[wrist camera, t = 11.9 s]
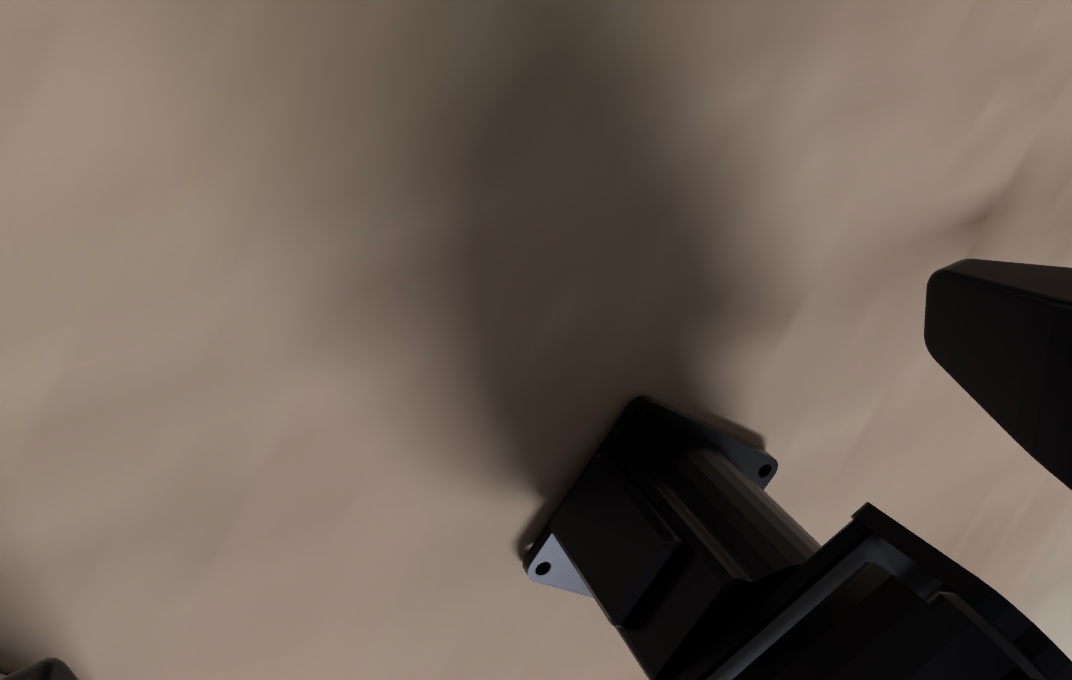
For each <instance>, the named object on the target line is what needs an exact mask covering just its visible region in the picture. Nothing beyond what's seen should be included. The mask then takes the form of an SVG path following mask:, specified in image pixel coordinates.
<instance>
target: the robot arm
mask: <svg viewBox="0 0 1072 680" xmlns="http://www.w3.org/2000/svg"><path fill="white" fill-rule="evenodd" d="M924 340H925V344H926V347H927V349H928V351H929V353H930V354H931V356H932V357H933V358H934V359H935V361H936V362H937V363H938V364H939V365H940V366H941V367H942V368H943V369H944V370H945V371H946V372H947V373H948V374H949V375H950V376H951V377H952V378H953V379H954V380H955V381H956V382H957V383H958V384H959V385H960V386H961V387H962V388H963V389H964V390H965V391H966V392H967V393H968V394H969V395H970V396H971V397H972V398H973V399H974V400H975V401H976V402H977V403H978V404H979V405H980V406H981V407H982V408H983V409H984V410H985V411H986V412H987V413H988V414H989V415H990V416H991V417H992V418H993V419H994V420H995V421H996V422H997V423H998V424H999V425H1000V426H1001V427H1002V428H1003V429H1004V430H1005V431H1006V432H1007V433H1008V434H1009V435H1010V436H1011V437H1012V438H1013V439H1014V440H1015V441H1016V442H1017V443H1018V444H1019V445H1020V446H1021V447H1022V448H1024V449H1025V450H1026V451H1027V452H1028V453H1029V454H1030V455H1031V456H1032V457H1033V458H1034V459H1035V460H1037V461H1038V462H1039V463H1040V464H1041V465H1042V466H1043V467H1045V468H1046V469H1047V470H1048V471H1049V472H1050V473H1052V474H1053V475H1054V476H1055V477H1056V478H1058V479H1059V480H1060V481H1061V482H1062V483H1064V484H1065V485H1066V486H1067V487H1068V488H1070V489H1071V490H1072V268H1068V267H1057V266H1046V265H1035V264H1024V263H1013V262H1002V261H991V260H980V259H964V260H960V261H957V262H955V263H953V264H951V265H948V266H946V267H944V268H941V269H939V270H937V271H935V272H934V273H933V274H932V275H931V277H930V278H929V280H928V283H927V290H926V307H925V324H924ZM644 411H647V412H646V414H645V415H644V416H643V417H641V418H639V417H640V415H641V414H642V413H643V412H644ZM777 468H778V463H777V461H776V460H775V459H774V458H773V457H772V456H771V455H770V454H769V453H767V452H766V451H764V450H762V449H760V448H758V447H756V446H753V445H751V444H749V443H747V442H745V441H743V440H741V439H739V438H736V437H734V436H732V435H730V434H728V433H726V432H724V431H722V430H719V429H717V428H715V427H713V426H711V425H709V424H707V423H704V422H702V421H700V420H698V419H696V418H694V417H692V416H690V415H687V414H685V413H683V412H681V411H679V410H677V409H675V408H673V407H670V406H668V405H666V404H664V403H662V402H660V401H658V400H656V399H653V398H651V397H649V396H640V397H637V398H635V399H633V400H632V401H631V402H630V403H629V404H628V405H627V407H626V408H625V410H624V411H623V413H622V414H621V416H620V417H619V419H618V420H617V422H616V423H615V425H614V426H613V427H612V429H611V430H610V432H609V433H608V435H607V436H606V438H605V439H604V441H603V442H602V444H601V445H600V447H599V448H598V450H597V451H596V453H595V454H594V455H593V457H592V458H591V460H590V461H589V463H588V464H587V466H586V467H585V469H584V470H583V472H582V473H581V475H580V476H579V478H578V479H577V481H576V482H575V483H574V485H573V486H572V488H571V489H570V491H569V492H568V494H567V495H566V497H565V498H564V500H563V501H562V503H561V504H560V506H559V507H558V509H557V510H556V512H555V513H554V514H553V516H552V517H551V519H550V520H549V522H548V523H547V525H546V526H545V528H544V529H543V531H542V532H541V534H540V535H539V537H538V538H537V540H536V541H535V542H534V544H533V545H532V547H531V548H530V550H529V551H528V553H527V554H526V556H525V558H524V560H523V568H524V570H525V572H526V573H527V575H528V577H529V579H530V580H532V581H534V582H537V583H541V584H545V585H548V586H552V587H556V588H560V589H563V590H567V591H571V592H575V593H579V594H582V595H586V596H590V597H594V599H595V600H596V602H597V603H598V605H599V606H600V608H601V610H602V611H603V613H604V614H605V616H606V617H607V619H608V620H609V622H610V623H611V624H612V625H613V626H615V628H616V629H617V631H618V632H619V634H620V636H621V637H622V639H623V640H624V642H625V643H626V645H627V646H628V648H629V649H630V651H631V652H632V654H633V656H634V657H635V659H636V660H637V662H638V663H639V665H640V666H641V668H642V669H643V671H644V673H645V674H646V676H647V677H648V679H649V680H1072V661H1071V660H1070V659H1069V658H1068V657H1067V656H1066V655H1065V654H1064V653H1063V652H1062V651H1061V650H1060V649H1059V648H1058V647H1057V646H1056V645H1055V644H1054V643H1053V642H1052V641H1051V640H1050V639H1049V638H1048V637H1047V636H1046V635H1045V634H1044V633H1043V632H1042V631H1041V630H1040V629H1039V628H1038V627H1037V626H1036V625H1035V624H1034V623H1033V622H1032V621H1030V620H1029V619H1028V618H1027V617H1026V616H1025V615H1024V614H1023V613H1022V612H1020V611H1019V610H1018V609H1017V608H1016V607H1015V606H1014V605H1013V604H1011V603H1010V602H1009V601H1008V600H1006V599H1005V598H1004V597H1003V596H1002V595H1000V594H999V593H998V592H997V591H995V590H994V589H993V588H992V587H990V586H989V585H987V584H986V583H985V582H983V581H982V580H981V579H979V578H978V577H977V576H975V575H974V574H972V573H971V572H969V571H968V570H966V569H965V568H963V567H962V566H960V565H959V564H958V563H956V562H955V561H953V560H952V559H950V558H949V557H947V556H946V555H944V554H943V553H942V552H940V551H939V550H937V549H936V548H934V547H933V546H931V545H930V544H928V543H927V542H926V541H924V540H923V539H921V538H920V537H918V536H917V535H915V534H914V533H912V532H911V531H910V530H908V529H907V528H905V527H904V526H902V525H901V524H899V523H898V522H896V521H895V520H894V519H892V518H891V517H889V516H888V515H886V514H885V513H883V512H882V511H880V510H879V509H878V508H876V507H875V506H873V505H872V504H870V503H869V502H866V503H865V504H864V505H863V506H862V507H861V508H860V509H858V510H857V511H856V512H855V513H854V514H853V515H852V516H851V517H852V519H853V520H852V521H851V522H849V523H848V524H847V525H846V526H845V527H844V528H843V529H841V530H840V531H839V532H838V533H837V534H836V535H835V536H833V537H832V538H831V539H830V540H829V541H828V542H827V543H825V544H824V545H823V546H821V545H820V544H819V543H818V542H817V541H816V540H815V539H814V538H813V537H811V536H810V535H809V534H808V533H807V532H806V531H805V530H804V529H803V528H802V527H801V526H800V525H799V524H798V523H797V522H796V521H795V520H794V519H793V518H792V517H791V516H790V515H789V514H788V513H787V512H785V511H784V510H783V509H782V508H781V507H780V506H779V505H778V504H777V503H776V502H775V501H774V500H773V499H772V498H771V497H770V496H769V495H768V494H767V493H766V492H765V491H764V489H765V487H766V486H767V485H768V483H769V482H770V480H771V479H772V478H773V476H774V475H775V473H776V471H777ZM542 562H544V563H543V564H542V565H540V566H538V565H539V564H540V563H542ZM537 566H538V567H537ZM1 680H78V679H77V677H76V676H75V675H74V674H73V672H72V671H71V670H70V669H69V667H68V666H67V665H66V664H65V663H64V662H63V661H61V660H59V659H58V658H46V659H43V660H41V661H38V662H36V663H34V664H32V665H29V666H27V667H25V668H22V669H20V670H18V671H15V672H13V673H11V674H9V675H7V676H6V677H4V678H2V679H1Z"/></svg>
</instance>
